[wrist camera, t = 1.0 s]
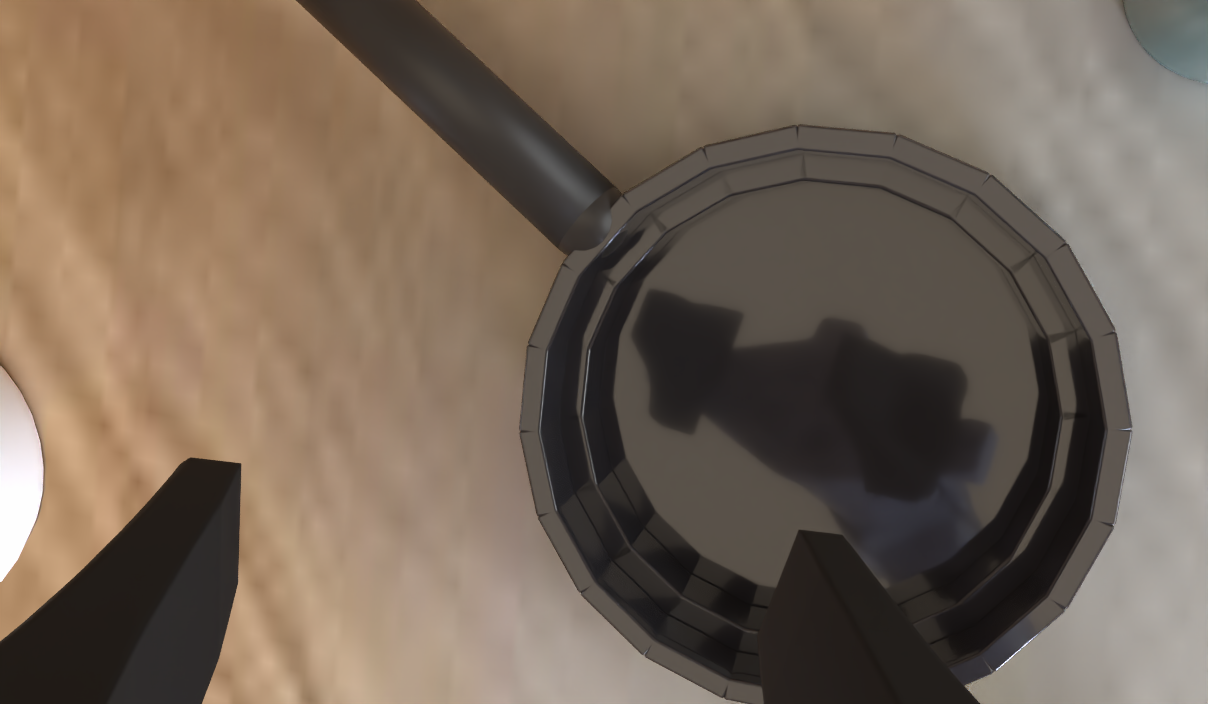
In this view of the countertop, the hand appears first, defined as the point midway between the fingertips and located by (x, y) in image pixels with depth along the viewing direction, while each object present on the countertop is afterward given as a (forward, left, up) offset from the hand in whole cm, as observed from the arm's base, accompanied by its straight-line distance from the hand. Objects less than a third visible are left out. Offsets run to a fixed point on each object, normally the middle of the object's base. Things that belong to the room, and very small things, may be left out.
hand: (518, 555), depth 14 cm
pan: (-2, -2, -13) cm, 13 cm away
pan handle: (+9, -2, -11) cm, 14 cm away
